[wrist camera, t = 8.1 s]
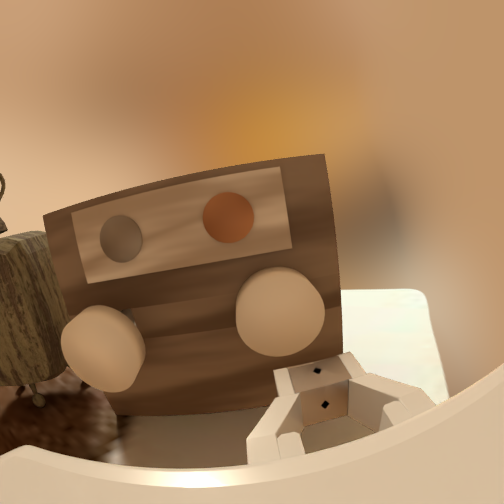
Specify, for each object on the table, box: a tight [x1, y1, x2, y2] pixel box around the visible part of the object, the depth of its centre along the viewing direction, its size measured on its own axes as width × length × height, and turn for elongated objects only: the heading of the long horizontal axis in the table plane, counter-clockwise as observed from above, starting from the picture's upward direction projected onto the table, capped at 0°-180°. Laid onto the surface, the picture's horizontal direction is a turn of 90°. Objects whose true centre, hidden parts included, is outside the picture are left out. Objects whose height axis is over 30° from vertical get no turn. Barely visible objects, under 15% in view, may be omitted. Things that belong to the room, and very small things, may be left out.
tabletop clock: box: [0, 173, 71, 407], centre depth 19 cm, size 14×9×25 cm, turn 108°
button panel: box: [43, 154, 343, 416], centre depth 20 cm, size 4×20×18 cm, turn 93°
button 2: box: [236, 267, 325, 357], centre depth 19 cm, size 7×5×5 cm
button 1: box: [61, 305, 146, 392], centre depth 17 cm, size 7×5×5 cm
